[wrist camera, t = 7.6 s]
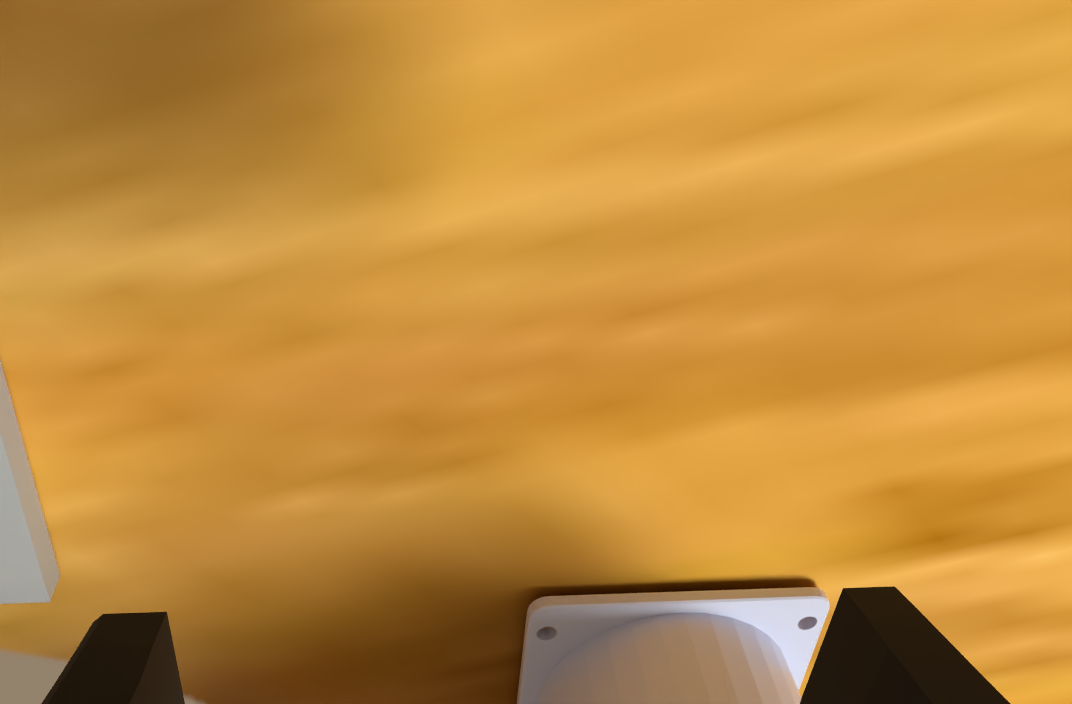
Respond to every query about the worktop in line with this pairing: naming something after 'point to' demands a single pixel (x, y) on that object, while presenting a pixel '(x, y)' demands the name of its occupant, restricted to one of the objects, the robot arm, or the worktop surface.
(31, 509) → the rail
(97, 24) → the worktop surface
